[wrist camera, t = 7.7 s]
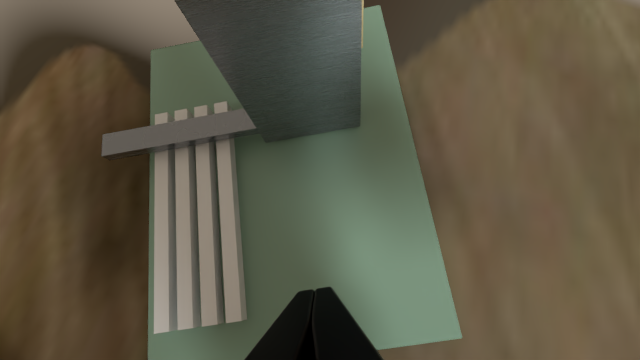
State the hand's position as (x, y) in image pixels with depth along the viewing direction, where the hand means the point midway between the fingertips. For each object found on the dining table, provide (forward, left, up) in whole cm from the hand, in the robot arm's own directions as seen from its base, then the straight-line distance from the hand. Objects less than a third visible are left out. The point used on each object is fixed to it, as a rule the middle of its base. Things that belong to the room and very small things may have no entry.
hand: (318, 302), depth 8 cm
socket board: (+6, -3, -8) cm, 11 cm away
